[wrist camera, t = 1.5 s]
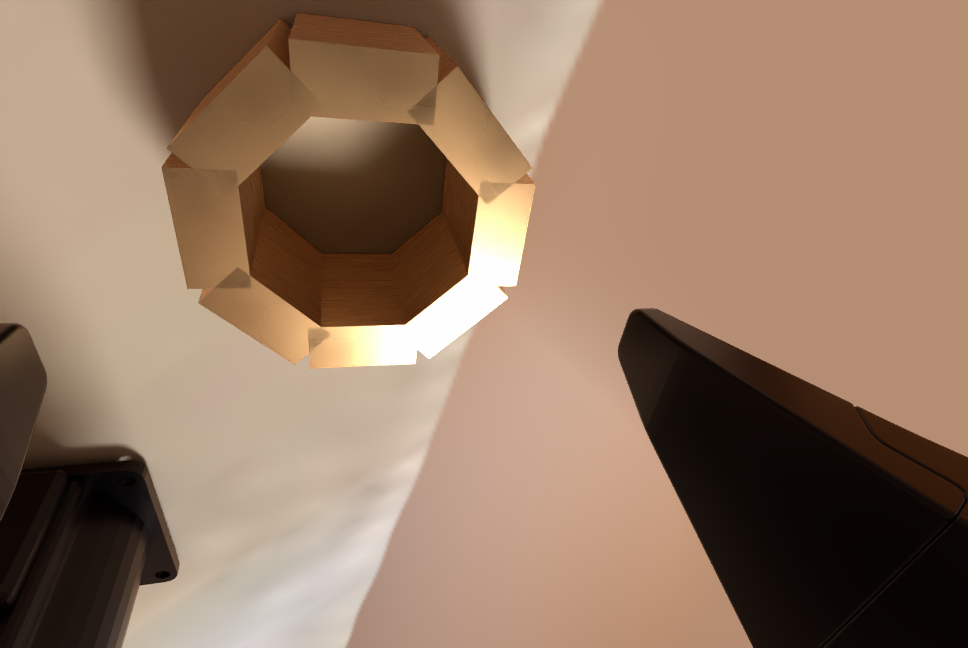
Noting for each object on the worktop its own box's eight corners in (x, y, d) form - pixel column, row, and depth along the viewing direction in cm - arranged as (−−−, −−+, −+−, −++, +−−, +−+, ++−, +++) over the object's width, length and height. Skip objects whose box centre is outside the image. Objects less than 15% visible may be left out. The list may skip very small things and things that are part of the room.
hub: (472, 288, 17) (501, 359, 14) (227, 291, 15) (205, 373, 12) (507, 38, 13) (558, 68, 10) (180, -2, 11) (130, 20, 8)
